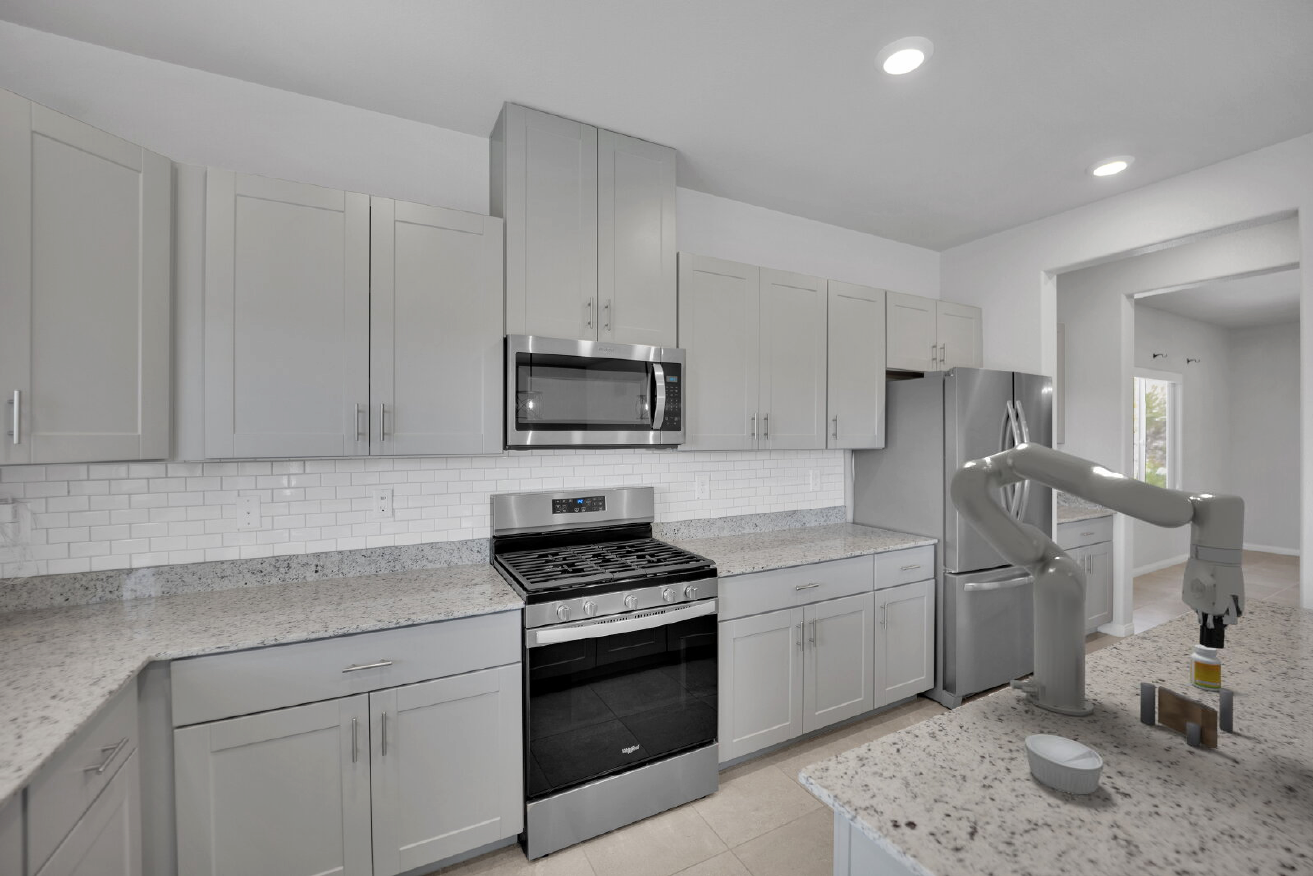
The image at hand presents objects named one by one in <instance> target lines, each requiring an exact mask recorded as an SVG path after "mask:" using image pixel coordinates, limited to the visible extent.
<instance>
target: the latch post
mask: <svg viewBox="0 0 1313 876" xmlns="http://www.w3.org/2000/svg"><path fill="white" fill-rule="evenodd" d="M1218 692H1219V698H1218V699H1219V704H1218V705H1219V709H1218V711H1219V713H1218V714H1219V715H1218V716H1219V723H1218V725H1219V726H1218V727H1219V728H1220V729H1221V730H1220V729H1219V728H1218V729H1219V730H1220V731H1222V730H1223V732H1225V731H1226V733H1233V732H1234V692H1233V691H1231V690H1229V689H1224V688H1221V689H1220V690H1219V691H1218Z"/></svg>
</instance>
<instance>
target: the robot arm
mask: <svg viewBox="0 0 1313 876" xmlns="http://www.w3.org/2000/svg"><path fill="white" fill-rule="evenodd" d="M1027 480H1028V481H1030V482H1033V483H1036V484H1038V485H1039V484H1040V485H1042V486H1045V487H1048V488H1051V489H1053V490H1056V491H1059V492H1062V493H1064V494H1067V495H1070V496H1072V497H1075V498H1078V499H1080V500H1083V501H1086V502H1088V503H1092V504H1095V505H1099V506H1102V507H1104V508H1107V509H1109V510H1113V511H1115V512H1117V513H1120V514H1123V515H1126V516H1128V517H1131V518H1135V519H1137V520H1140V521H1142V522H1145V523H1147V524H1150V525H1154V526H1157V527H1160V528H1163V529H1164V528H1165V529H1177V528H1181V527H1183V526H1186V525H1188V524H1189V525H1190V543H1189V557H1187V561H1186V565H1185V569H1184V574H1183V580H1182V587H1181V588H1182V589H1181V590H1182V591H1181V601H1182V603H1184V604H1185V605H1187V606H1188V607H1190V609H1191V610H1192V611H1193V612H1195V613H1196V615H1197V622H1198V624H1199V643H1198V644H1200V645H1203V646H1205V647H1207V648H1216V649H1219V650H1222V649H1225V634H1226V633H1225V632H1226V631H1225V630H1228V626H1229V625H1230V626H1231V625H1233V626H1238V625H1239V624H1238V623H1239V621H1238V620H1239V619H1238V618H1241V617H1242V616H1243V615H1244V612H1245V605H1246V604H1245V602H1246V601H1245V599H1246V598H1245V593H1246V592H1245V580H1244V573H1243V554H1244V553H1243V552H1244V550H1243V549H1244V532H1245V531H1244V529H1245V527H1244V526H1245V510H1246V509H1245V508H1246V507H1245V504H1246V503H1245V501H1244V499H1243V498H1242V497H1241V496H1239V495H1237V494H1230V493H1220V492H1191V491H1184V490H1179V489H1174V488H1173V489H1172V488H1165V487H1164V488H1163V487H1161V486H1158V485H1155V484H1150V483H1148V482H1145V481H1141V480H1140V479H1135V478H1133V477H1130V476H1127V475H1125V474H1121V473H1120V472H1117V471H1114V470H1112V469H1110V468H1109V467H1107V466H1105V465H1102V464H1100V463H1098V462H1094V461H1093V460H1092V461H1091V460H1088V459H1086V458H1082V457H1078V456H1076V455H1072V454H1070V453H1067V452H1063V451H1060V450H1056V449H1055V448H1051V447H1048V446H1044V445H1042V444H1040V443H1038V442H1030V441H1026V442H1022V443H1019V444H1017V445H1015V446H1013V447H1012V448H1009V449H1007V450H1005V451H1000V452H998V453H995V454H992V455H989V456H985V457H982V458H979V459H973V460H968V461H964V462H963V463H961V464H960V465H959V466H958V467H957V468H956V470H955V471H954V474H953V476H952V478H951V482H950V488H949V489H950V499H951V501H952V503H953V506H954V508H955V510H956V511H957V512H958V514H959V515H960V516H961V518H962V519H964V521H966V522H967V524H969V525H970V527H972V529H973V530H974V531H976V532H977V533H978V534H979V536H981V538H982V539H983V540H984V541H985V542H987V544H988V545H989V546H991V547H992V548H993V549H994V550H995V552H996V553H998V554H999V556H1000V557H1001V558H1002V559H1003V560H1004V561H1005V562H1006V563H1008V564H1010V565H1011V566H1015V567H1018V568H1023V569H1024V570H1025V571H1026V572H1027V573H1028V574H1029V575H1030V576H1031V577H1032V578H1033V584H1032V590H1033V591H1032V597H1033V598H1032V599H1033V631H1034V632H1033V676H1032V675H1031V676H1028V679H1025V680H1024V681H1023V680H1022V681H1021V680H1015V679H1011V680H1010V681H1009V684H1010V685H1009V686H1010V688H1011V687H1012V688H1011V689H1012V690H1020V692H1021V693H1022V694H1025V697H1026V698H1027V700H1028V701H1029V702H1031V703H1032V704H1034V705H1035V706H1037V707H1040V708H1042V709H1045V710H1048V711H1051V712H1054V713H1058V714H1061V715H1069V716H1079V717H1080V716H1088V715H1091V714H1092V713H1094V709H1095V708H1094V704H1093V702H1092V701H1090V700H1089V699H1088V698H1086V602H1087V601H1086V600H1087V597H1086V596H1087V585H1088V581H1087V580H1088V579H1087V575H1086V572H1085V571H1084V569H1083V568H1082V566H1081V565H1080V564H1079V563H1078V562H1077V561H1076V560H1075V559H1073V558H1072V556H1070V555H1069V554H1068V553H1067V552H1066V551H1065V550H1064V549H1063V548H1061V546H1059V545H1058V544H1057V543H1056V542H1055V541H1053V540H1052V539H1051V538H1050V537H1049V536H1048V535H1047V534H1046V533H1045V532H1044V531H1043V530H1041V529H1040V528H1038V527H1036V526H1034V525H1032V524H1029V523H1023V522H1021V521H1019V520H1018V519H1017V518H1016V517H1015V515H1013V514H1011V513H1010V511H1008V509H1006V508H1005V507H1004V506H1003V505H1002V504H1001V503H999V502H998V501H997V500H996V499H995V498H994V497H993V495H992V493H991V492H992V491H996V490H998V489H1003V488H1005V487H1008V486H1011V485H1012V486H1013V485H1015V484H1017V483H1021V482H1024V481H1027ZM1025 681H1028V682H1025Z"/></svg>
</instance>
